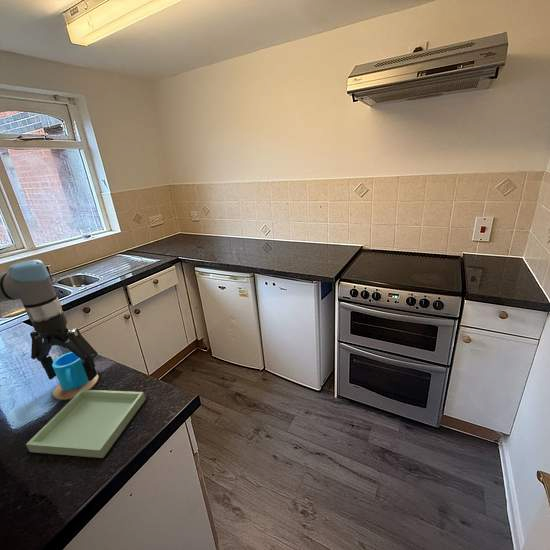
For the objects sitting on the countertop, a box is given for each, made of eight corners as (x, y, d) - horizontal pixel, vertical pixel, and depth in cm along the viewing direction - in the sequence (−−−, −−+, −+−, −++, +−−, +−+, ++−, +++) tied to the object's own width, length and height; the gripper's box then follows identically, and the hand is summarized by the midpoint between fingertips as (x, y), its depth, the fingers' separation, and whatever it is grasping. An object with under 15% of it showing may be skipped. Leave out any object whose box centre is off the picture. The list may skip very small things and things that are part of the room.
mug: (63, 378, 94) (54, 357, 91) (92, 368, 98) (84, 347, 95) (58, 402, 84) (47, 379, 81) (91, 390, 88) (81, 367, 85)
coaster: (43, 399, 87) (42, 398, 87) (74, 371, 98) (74, 370, 98) (79, 400, 85) (78, 399, 85) (107, 372, 96) (106, 371, 96)
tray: (29, 452, 70) (25, 444, 69) (84, 396, 86) (81, 389, 85) (103, 458, 67) (99, 450, 66) (146, 398, 83) (143, 391, 82)
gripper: (96, 308, 84) (118, 369, 91) (21, 309, 88) (48, 367, 96) (76, 322, 77) (101, 387, 85) (-4, 322, 81) (27, 384, 89)
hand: (73, 377), depth 90 cm, fingers open, 13 cm apart
